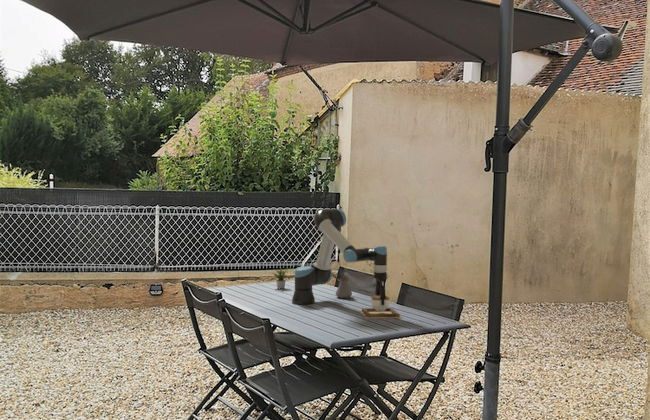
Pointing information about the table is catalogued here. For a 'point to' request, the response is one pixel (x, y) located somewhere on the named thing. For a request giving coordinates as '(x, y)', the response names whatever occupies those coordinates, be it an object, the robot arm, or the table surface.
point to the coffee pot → (343, 288)
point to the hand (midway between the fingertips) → (380, 308)
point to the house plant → (280, 278)
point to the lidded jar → (377, 302)
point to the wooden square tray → (379, 313)
